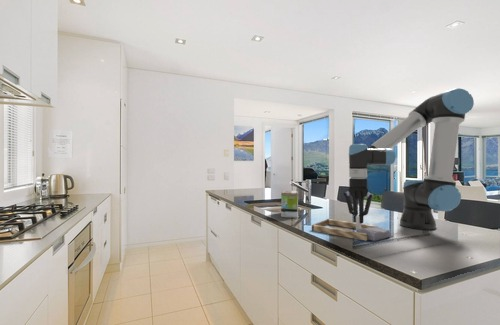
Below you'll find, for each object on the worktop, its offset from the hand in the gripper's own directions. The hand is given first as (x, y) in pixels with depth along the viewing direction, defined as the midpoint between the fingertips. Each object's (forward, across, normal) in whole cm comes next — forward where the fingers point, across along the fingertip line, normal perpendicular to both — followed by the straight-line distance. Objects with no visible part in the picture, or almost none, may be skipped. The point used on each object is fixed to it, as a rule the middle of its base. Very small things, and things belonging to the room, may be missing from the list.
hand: (358, 230), depth 113 cm
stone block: (+2, +6, -1) cm, 6 cm away
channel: (+2, -6, 0) cm, 6 cm away
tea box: (+2, -46, +14) cm, 48 cm away
